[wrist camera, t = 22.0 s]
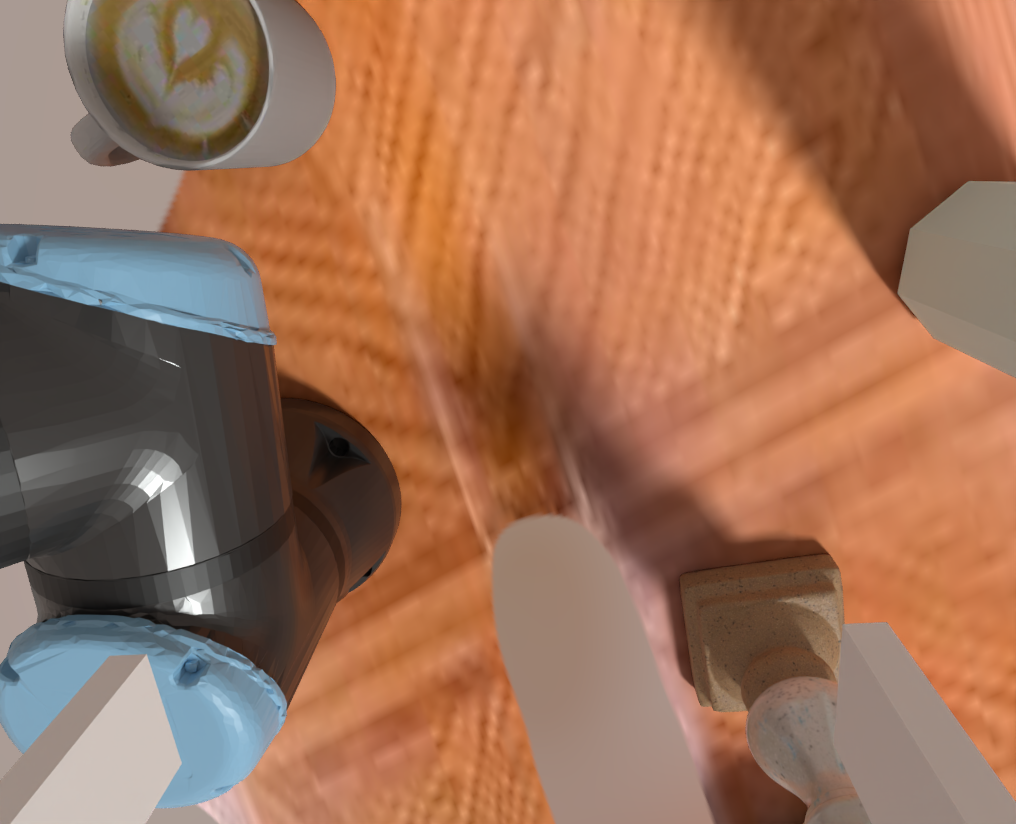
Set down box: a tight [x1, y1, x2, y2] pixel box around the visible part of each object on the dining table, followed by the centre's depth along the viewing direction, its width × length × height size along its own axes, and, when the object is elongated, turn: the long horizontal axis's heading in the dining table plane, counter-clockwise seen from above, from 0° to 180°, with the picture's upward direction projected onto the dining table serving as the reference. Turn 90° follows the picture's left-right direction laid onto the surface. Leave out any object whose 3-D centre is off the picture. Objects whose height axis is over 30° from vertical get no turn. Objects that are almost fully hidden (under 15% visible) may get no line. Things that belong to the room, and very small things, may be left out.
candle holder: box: [679, 554, 872, 824], centre depth 42 cm, size 11×11×24 cm
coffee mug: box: [63, 0, 336, 170], centre depth 38 cm, size 13×10×10 cm
